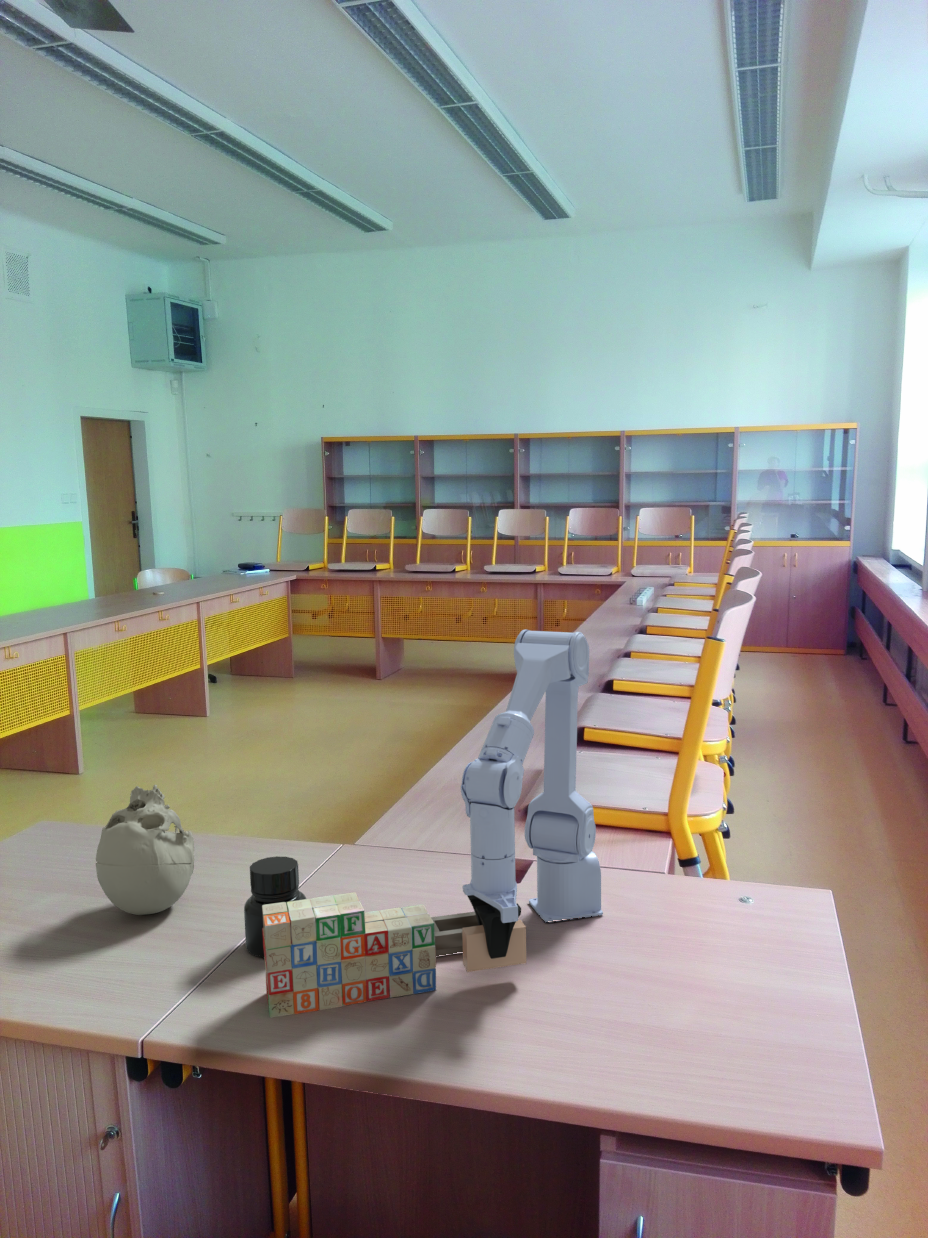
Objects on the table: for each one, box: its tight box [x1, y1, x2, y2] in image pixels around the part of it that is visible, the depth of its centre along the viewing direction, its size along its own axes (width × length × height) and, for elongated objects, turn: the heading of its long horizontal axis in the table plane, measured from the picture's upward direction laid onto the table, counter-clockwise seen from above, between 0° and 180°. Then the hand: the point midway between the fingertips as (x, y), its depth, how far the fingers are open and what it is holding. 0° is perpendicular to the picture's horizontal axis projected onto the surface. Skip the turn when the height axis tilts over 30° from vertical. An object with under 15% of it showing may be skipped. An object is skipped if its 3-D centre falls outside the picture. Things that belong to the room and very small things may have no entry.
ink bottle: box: [243, 856, 307, 958], centre depth 130 cm, size 10×9×12 cm
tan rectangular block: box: [462, 919, 527, 973], centre depth 118 cm, size 8×2×5 cm, turn 105°
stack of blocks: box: [262, 891, 437, 1018], centre depth 116 cm, size 21×6×12 cm, turn 106°
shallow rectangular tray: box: [430, 911, 479, 956], centre depth 130 cm, size 12×6×3 cm, turn 105°
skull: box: [95, 784, 195, 916], centre depth 141 cm, size 13×15×20 cm
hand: (494, 951), depth 118 cm, fingers closed on tan rectangular block, 2 cm apart
